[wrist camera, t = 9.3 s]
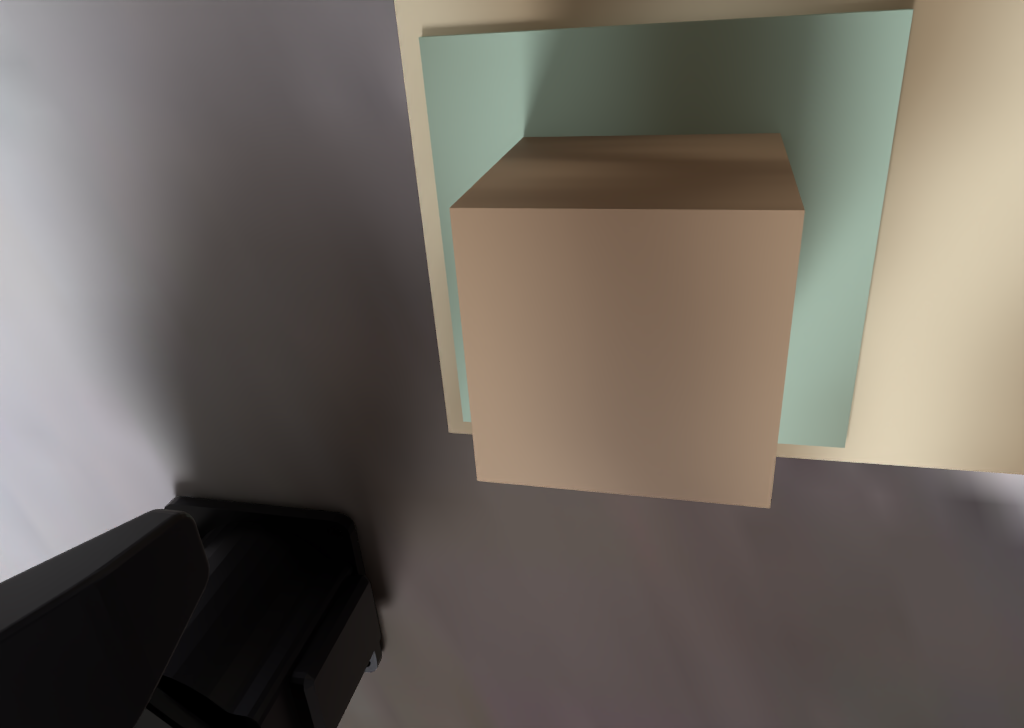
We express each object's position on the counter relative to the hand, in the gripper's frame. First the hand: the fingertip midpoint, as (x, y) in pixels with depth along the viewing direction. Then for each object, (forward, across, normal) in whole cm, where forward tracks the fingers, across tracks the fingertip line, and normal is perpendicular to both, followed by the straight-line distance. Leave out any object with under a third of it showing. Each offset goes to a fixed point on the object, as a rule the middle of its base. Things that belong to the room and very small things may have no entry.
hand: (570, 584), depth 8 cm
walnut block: (+10, 0, 0) cm, 10 cm away
